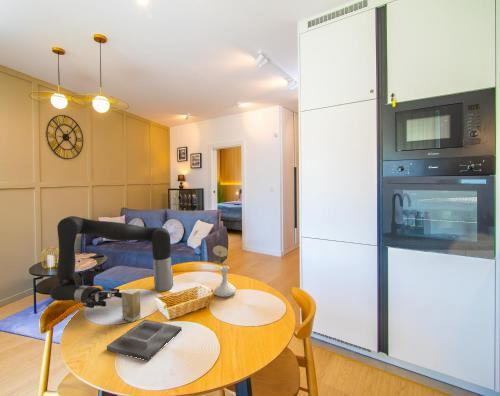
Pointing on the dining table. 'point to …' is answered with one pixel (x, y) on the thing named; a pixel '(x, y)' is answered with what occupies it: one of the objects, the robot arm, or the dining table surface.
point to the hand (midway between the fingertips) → (114, 299)
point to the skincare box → (131, 304)
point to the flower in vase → (223, 274)
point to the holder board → (144, 339)
